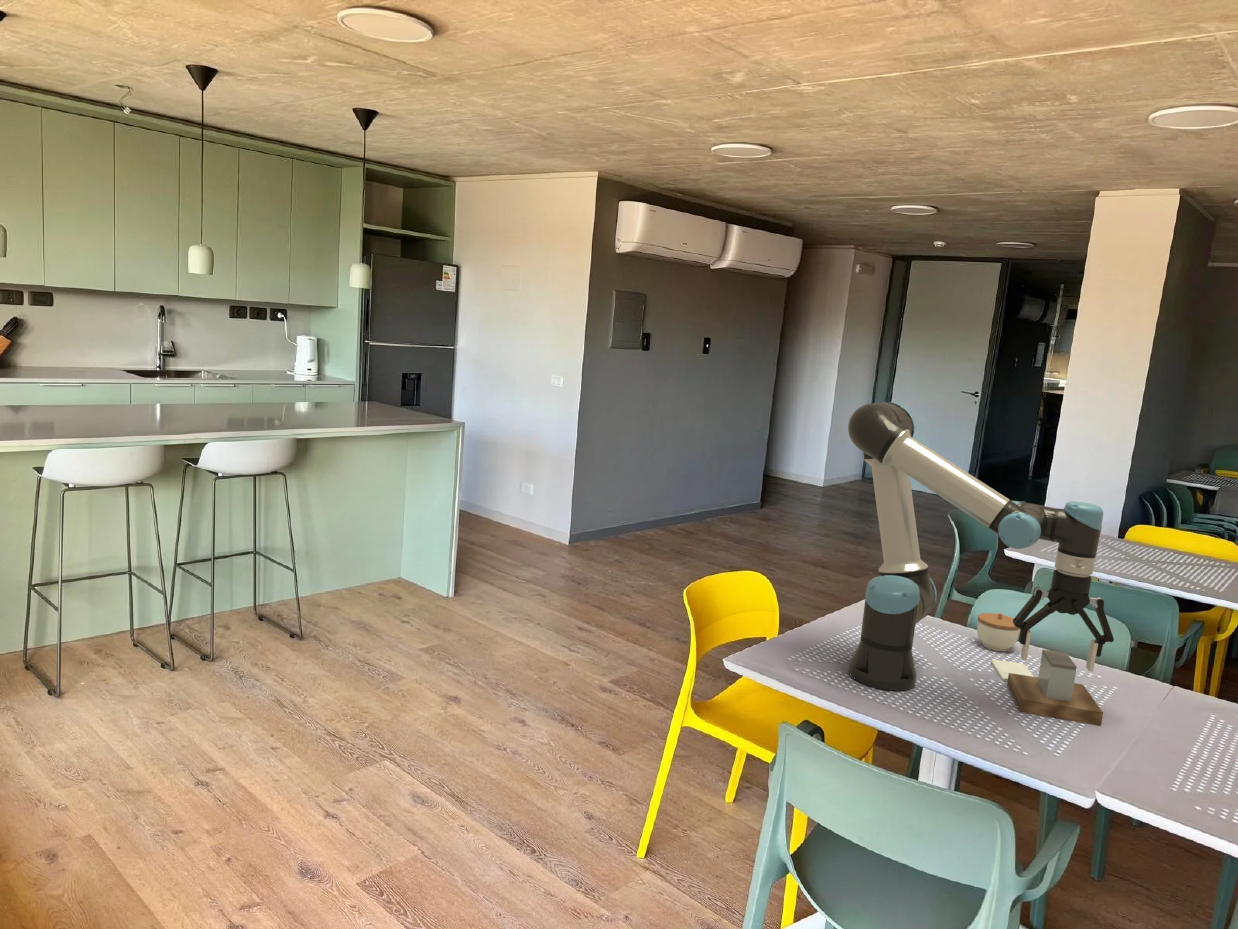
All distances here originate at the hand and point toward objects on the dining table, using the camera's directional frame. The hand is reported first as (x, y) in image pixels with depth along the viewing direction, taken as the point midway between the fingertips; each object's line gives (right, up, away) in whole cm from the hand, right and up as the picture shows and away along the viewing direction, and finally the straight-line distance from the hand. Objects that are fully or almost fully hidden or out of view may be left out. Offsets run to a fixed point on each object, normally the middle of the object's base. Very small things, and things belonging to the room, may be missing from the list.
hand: (1056, 663), depth 191 cm
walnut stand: (0, -9, +1) cm, 10 cm away
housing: (0, -6, +1) cm, 7 cm away
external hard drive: (-1, -8, +18) cm, 20 cm away
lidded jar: (+3, -4, +37) cm, 38 cm away
